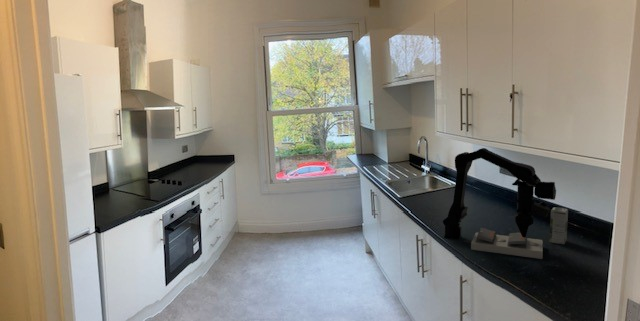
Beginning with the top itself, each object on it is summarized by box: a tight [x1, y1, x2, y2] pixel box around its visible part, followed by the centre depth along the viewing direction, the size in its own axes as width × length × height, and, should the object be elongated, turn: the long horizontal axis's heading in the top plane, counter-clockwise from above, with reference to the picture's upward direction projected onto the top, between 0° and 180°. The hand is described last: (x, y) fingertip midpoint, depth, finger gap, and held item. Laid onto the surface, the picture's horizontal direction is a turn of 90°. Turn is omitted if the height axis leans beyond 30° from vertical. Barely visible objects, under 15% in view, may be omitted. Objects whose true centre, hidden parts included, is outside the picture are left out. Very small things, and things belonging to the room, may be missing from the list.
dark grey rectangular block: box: [477, 227, 496, 242], centre depth 161 cm, size 6×11×1 cm, turn 150°
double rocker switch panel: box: [463, 232, 544, 260], centre depth 159 cm, size 30×14×3 cm, turn 60°
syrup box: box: [548, 206, 569, 245], centre depth 161 cm, size 6×6×14 cm
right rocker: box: [508, 232, 527, 244], centre depth 156 cm, size 6×11×1 cm, turn 150°
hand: (524, 233), depth 154 cm, fingers open, 9 cm apart
